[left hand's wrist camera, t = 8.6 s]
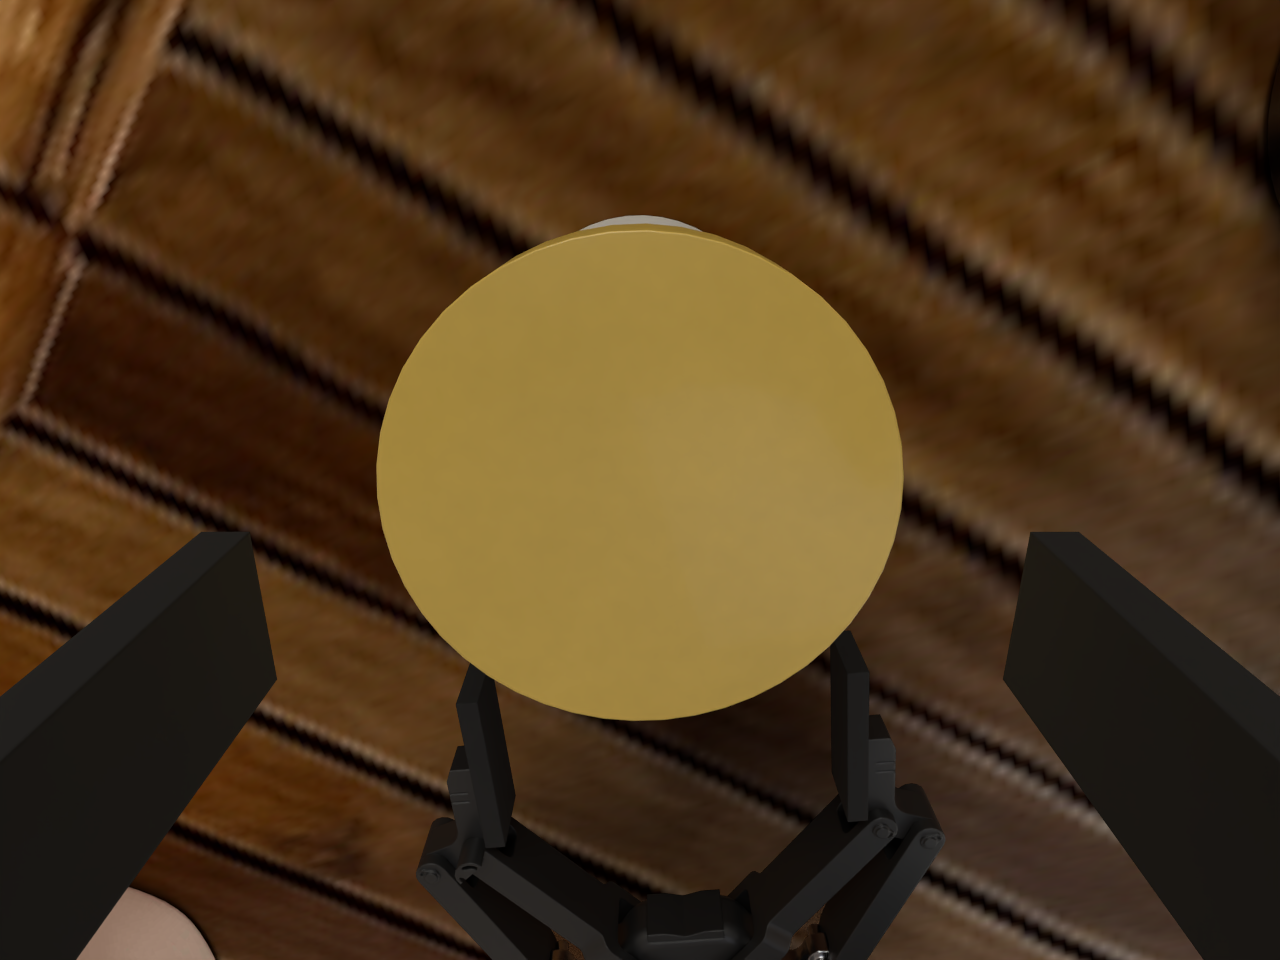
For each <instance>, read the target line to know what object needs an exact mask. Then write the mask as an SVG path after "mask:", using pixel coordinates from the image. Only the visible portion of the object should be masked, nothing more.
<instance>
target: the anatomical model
mask: <svg viewBox="0 0 1280 960" xmlns="http://www.w3.org/2000/svg"><path fill="white" fill-rule="evenodd" d="M76 960H215V958H214V956H213V954H212V952H211V950H210V948H209V946H208V944H207V943H206V941H205V940H204V938H203V936H202V935H201V933H200V932H199V930H198V929H197V928H196V927H195V925H194V924H193V923H192V922H191V921H190V920H189V919H188V918H187V917H186V916H185V915H184V914H183V913H182V912H180V911H179V910H178V909H176V908H175V907H173V906H172V905H170V904H169V903H167V902H165V901H163V900H161V899H159V898H157V897H155V896H152V895H150V894H147V893H145V892H142V891H140V890H137V889H133V888H130V887H128V888H127V890H126V891H125V892H124V894H123V895H122V897H121V898H120V899H119V901H118V902H117V904H116V905H115V906H114V908H113V909H112V911H111V912H110V913H109V915H108V916H107V918H106V919H105V920H104V922H103V923H102V925H101V926H100V927H99V929H98V930H97V932H96V933H95V934H94V936H93V937H92V939H91V940H90V941H89V943H88V944H87V946H86V947H85V948H84V950H83V951H82V952H81V954H80V955H79V957H78V958H77V959H76Z"/></svg>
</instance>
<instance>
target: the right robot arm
mask: <svg viewBox="0 0 1280 960" xmlns="http://www.w3.org/2000/svg"><path fill="white" fill-rule="evenodd" d="M830 664H831V750H832V774H833V777H834V780H835V784H836V787H837V790H838V793H839V794H838V795H837V796H836V797H835V798H834V799H833V800H832V801H831V802H830V803H829V804H828V805H827V806H826V807H825V808H824V810H823V811H822V812H821V813H820V814H819V815H818V816H817V817H816V818H815V819H814V820H813V821H812V822H811V823H810V824H809V825H808V826H807V827H806V828H805V829H804V830H803V831H802V832H801V833H800V834H799V835H798V836H797V837H796V838H795V839H794V840H793V841H792V842H791V843H790V844H789V845H788V846H787V847H786V848H785V849H784V850H783V851H782V852H781V853H780V854H779V855H778V856H777V857H776V858H775V859H774V860H773V861H772V862H771V863H770V864H769V865H768V866H767V867H766V868H765V869H764V870H763V871H762V872H761V873H758V872H756V871H752V872H751V873H750V874H749V875H748V876H747V877H746V878H745V879H744V880H743V881H742V882H741V883H740V884H739V885H738V886H737V887H736V888H735V889H734V890H733V891H732V892H731V893H730V894H729V895H728V896H723V895H720V891H719V889H718V890H704V891H699V892H695V893H691V894H688V895H683V896H682V895H674V894H666V893H661V894H647V900H646V901H643V902H640V901H639V900H638V899H636V898H635V897H634V896H632V895H631V894H629V893H628V892H627V891H625V890H624V889H623V888H621V887H620V886H619V885H617V884H616V883H614V882H612V881H609V882H607V883H606V884H603V883H601V882H600V881H598V880H597V879H596V878H594V877H593V876H592V875H590V874H589V873H587V872H586V871H585V870H583V869H582V868H581V867H579V866H578V865H577V864H575V863H574V862H572V861H571V860H570V859H568V858H567V857H566V856H564V855H563V854H562V853H560V852H559V851H557V850H556V849H555V848H553V847H552V846H551V845H549V844H548V843H547V842H545V841H544V840H542V839H541V838H540V837H538V836H537V835H536V834H534V833H533V832H532V831H530V830H529V829H527V828H526V827H525V826H523V825H522V824H521V823H519V822H518V821H516V820H515V819H514V818H512V817H511V816H512V811H513V806H514V801H515V796H516V795H515V790H514V784H513V779H512V774H511V768H510V763H509V757H508V752H507V747H506V741H505V736H504V730H503V725H502V719H501V714H500V709H499V703H498V698H497V692H496V687H495V681H494V679H492V678H491V677H489V676H487V675H486V674H485V673H483V672H482V671H481V670H479V669H478V668H477V667H475V666H474V665H473V664H471V663H470V665H469V668H468V671H467V674H466V677H465V679H464V682H463V685H462V688H461V691H460V694H459V697H458V700H457V703H456V708H457V713H458V717H459V722H460V727H461V732H462V737H463V742H464V746H458V747H457V750H456V753H455V757H454V760H453V763H452V766H451V769H450V772H449V776H448V780H447V785H448V789H449V794H450V799H451V802H452V808H453V812H454V817H455V820H453V819H451V818H447V817H442V818H438V819H436V820H435V821H434V822H433V823H432V825H431V828H430V831H429V834H428V837H427V840H426V843H425V847H424V850H423V853H422V856H421V859H420V862H419V866H418V869H417V872H416V877H417V879H418V881H419V882H420V883H421V884H422V885H423V886H424V888H425V889H426V890H427V891H428V892H429V893H430V894H431V895H432V896H433V897H434V898H435V899H436V900H437V901H438V902H439V903H440V904H441V906H442V907H443V908H444V909H445V910H446V911H447V912H448V913H449V914H450V915H451V916H452V917H453V918H454V919H455V920H456V921H457V922H458V924H459V925H460V926H461V927H462V928H463V929H464V930H465V931H466V932H467V933H468V934H469V935H470V936H471V937H472V938H473V939H474V941H475V942H476V943H477V944H478V945H479V946H480V947H481V948H482V949H483V950H484V951H485V952H486V953H487V954H488V955H489V956H490V957H491V959H492V960H577V959H576V958H575V957H574V956H573V954H572V953H571V952H569V943H568V942H567V941H565V940H560V941H557V940H556V938H555V936H554V934H553V932H552V930H554V931H555V932H556V933H558V934H559V935H561V936H562V937H564V938H565V939H566V940H568V941H569V942H571V943H572V944H574V945H575V946H577V947H578V948H579V949H580V950H581V951H582V953H583V955H584V958H585V960H867V959H868V957H869V956H870V954H871V953H872V951H873V950H874V948H875V947H876V945H877V944H878V942H879V941H880V939H881V938H882V936H883V935H884V933H885V932H886V930H887V929H888V927H889V926H890V924H891V923H892V921H893V920H894V918H895V917H896V915H897V914H898V912H899V911H900V909H901V908H902V906H903V905H904V903H905V902H906V900H907V899H908V898H909V896H910V895H911V893H912V892H913V890H914V889H915V887H916V886H917V884H918V883H919V881H920V880H921V878H922V877H923V875H924V874H925V872H926V871H927V869H928V868H929V866H930V865H931V863H932V862H933V860H934V859H935V857H936V856H937V854H938V853H939V851H940V850H941V848H942V847H943V845H944V843H945V835H944V833H943V831H942V829H941V827H940V824H939V822H938V820H937V818H936V816H935V813H934V811H933V809H932V807H931V805H930V803H929V800H928V798H927V796H926V794H925V792H924V790H923V789H922V787H921V786H919V785H917V784H905V785H903V786H901V787H900V788H896V787H895V759H896V749H895V747H894V744H893V742H892V740H891V737H890V735H889V733H888V731H887V728H886V726H885V724H884V722H883V720H882V718H881V716H880V715H869V670H868V668H867V666H866V664H865V662H864V659H863V657H862V655H861V653H860V651H859V649H858V646H857V644H856V642H855V640H854V638H853V635H852V633H851V631H843V632H842V633H841V634H840V635H839V636H838V637H837V638H836V640H835V641H834V642H833V643H832V644H831V645H830ZM825 904H826V905H825ZM823 905H825V907H824V909H823V912H822V914H821V917H820V922H819V925H818V924H815V923H814V924H811V925H809V926H808V928H807V931H808V935H809V936H807V937H806V938H805V940H804V942H803V944H802V945H801V946H800V947H799V948H797V949H794V950H789V948H790V943H791V938H792V936H793V935H794V933H795V932H796V931H798V930H799V929H800V928H801V927H802V926H803V925H804V924H805V923H806V922H807V921H808V920H809V919H810V918H811V917H812V916H813V915H814V914H815V913H816V912H817V911H818V910H819V909H820V908H821V907H822V906H823ZM618 924H619V925H618ZM550 928H551V929H552V930H551V929H550ZM788 950H789V951H788Z"/></svg>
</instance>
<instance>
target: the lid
mask: <svg viewBox="0 0 1280 960" xmlns="http://www.w3.org/2000/svg"><path fill="white" fill-rule="evenodd" d="M903 480H904V475H903V458H902V444H901V439H900V434H899V429H898V425H897V420H896V415H895V411H894V408H893V406H892V403H891V400H890V397H889V395H888V392H887V389H886V386H885V384H884V381H883V379H882V377H881V375H880V373H879V371H878V370H877V368H876V366H875V364H874V362H873V360H872V358H871V356H870V355H869V353H868V351H867V349H866V348H865V347H864V345H863V344H862V343H861V341H860V340H859V339H858V337H857V336H856V334H855V333H854V332H853V330H852V329H851V328H850V326H849V325H848V324H847V322H846V321H845V320H844V319H843V318H842V317H841V316H840V315H839V314H838V313H837V312H836V311H835V310H834V309H833V308H832V307H831V306H830V305H829V304H828V303H827V302H826V301H825V300H824V299H823V298H822V297H821V296H820V295H819V294H817V293H816V292H815V291H813V290H812V289H811V288H809V287H808V286H807V285H805V284H804V283H803V282H801V281H800V280H799V279H797V278H796V277H795V276H794V275H792V274H791V273H789V272H788V271H786V270H785V269H783V268H782V267H780V266H779V265H777V264H776V263H774V262H772V261H771V260H769V259H767V258H765V257H763V256H762V255H760V254H758V253H756V252H754V251H753V250H751V249H749V248H747V247H745V246H743V245H740V244H737V243H735V242H732V241H730V240H727V239H725V238H722V237H719V236H717V235H714V234H710V233H706V232H701V231H697V230H693V229H689V228H685V227H679V226H669V225H658V224H648V223H645V224H621V225H609V226H603V227H598V228H592V229H587V230H581V231H577V232H574V233H571V234H568V235H565V236H561V237H558V238H555V239H552V240H549V241H546V242H544V243H542V244H540V245H538V246H536V247H534V248H532V249H530V250H528V251H526V252H524V253H522V254H520V255H517V256H515V257H514V258H512V259H511V260H510V261H508V262H507V263H505V264H504V265H502V266H501V267H499V268H498V269H496V270H495V271H493V272H492V273H490V274H489V275H487V276H486V277H484V278H483V279H481V280H480V281H478V282H477V283H475V284H474V285H473V286H471V287H470V288H469V289H468V290H466V291H465V292H464V293H463V294H462V295H461V296H460V297H459V298H458V299H456V300H455V301H454V302H453V303H452V304H451V305H450V306H449V307H448V308H447V309H445V310H444V311H443V312H442V314H441V315H440V316H439V317H438V318H437V320H436V321H435V322H434V323H433V324H432V326H431V327H430V328H429V329H428V330H427V332H426V333H425V334H424V335H423V336H422V338H421V339H420V341H419V342H418V344H417V345H416V347H415V349H414V350H413V352H412V354H411V355H410V357H409V358H408V360H407V362H406V363H405V365H404V367H403V368H402V371H401V373H400V375H399V378H398V380H397V382H396V385H395V387H394V389H393V392H392V394H391V396H390V399H389V402H388V405H387V409H386V413H385V417H384V420H383V424H382V428H381V431H380V439H379V448H378V456H377V498H378V504H379V510H380V516H381V522H382V528H383V531H384V534H385V538H386V541H387V544H388V547H389V550H390V554H391V557H392V560H393V562H394V564H395V566H396V568H397V570H398V573H399V575H400V577H401V579H402V581H403V583H404V585H405V587H406V589H407V591H408V592H409V594H410V595H411V597H412V598H413V600H414V602H415V603H416V605H417V606H418V608H419V610H420V611H421V613H422V614H423V615H424V616H425V618H426V619H427V620H428V621H429V622H430V624H431V625H432V626H433V627H434V628H435V630H436V631H437V632H438V633H439V635H440V636H441V637H442V638H443V639H444V640H445V641H446V642H447V643H448V644H450V645H451V646H452V647H453V648H454V649H455V650H456V651H457V652H458V653H459V654H460V655H461V656H462V657H463V658H464V659H466V660H467V661H469V662H470V663H471V664H473V665H474V666H475V667H477V668H478V669H479V670H481V671H482V672H483V673H485V674H486V675H487V676H489V677H491V678H492V679H494V680H496V681H498V682H499V683H501V684H503V685H505V686H506V687H508V688H510V689H511V690H513V691H515V692H517V693H519V694H522V695H524V696H526V697H529V698H531V699H533V700H536V701H538V702H540V703H543V704H546V705H549V706H552V707H555V708H559V709H562V710H565V711H569V712H572V713H577V714H582V715H587V716H593V717H598V718H603V719H616V720H630V721H644V720H667V719H674V718H681V717H688V716H695V715H699V714H703V713H707V712H711V711H714V710H718V709H722V708H726V707H728V706H731V705H734V704H736V703H739V702H742V701H744V700H747V699H749V698H752V697H754V696H756V695H758V694H760V693H762V692H764V691H766V690H768V689H770V688H772V687H774V686H776V685H778V684H780V683H781V682H783V681H784V680H786V679H787V678H789V677H790V676H792V675H793V674H795V673H796V672H798V671H799V670H801V669H802V668H804V667H805V666H807V665H808V664H809V663H810V662H811V661H813V660H814V659H815V658H816V657H817V656H818V655H820V654H821V653H822V652H823V651H824V650H825V649H827V648H828V647H829V646H830V645H831V644H832V643H833V642H834V641H835V640H836V638H837V637H838V636H839V635H840V634H841V633H842V632H843V631H844V630H845V629H846V627H847V626H848V625H849V624H850V623H851V622H852V620H853V619H854V618H855V616H856V615H857V613H858V612H859V610H860V609H861V608H862V606H863V605H864V603H865V602H866V601H867V599H868V598H869V596H870V594H871V592H872V590H873V588H874V586H875V585H876V583H877V581H878V579H879V577H880V575H881V573H882V571H883V569H884V566H885V564H886V561H887V558H888V556H889V553H890V550H891V548H892V545H893V542H894V539H895V534H896V530H897V525H898V521H899V516H900V512H901V504H902V492H903Z"/></svg>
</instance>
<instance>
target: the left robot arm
mask: <svg viewBox="0 0 1280 960" xmlns="http://www.w3.org/2000/svg"><path fill="white" fill-rule="evenodd" d="M1267 139H1268V158H1269V165H1270V172H1271V178H1272V182H1273V186H1274V190H1275V193H1276V197H1277V200H1278V203H1279V205H1280V61H1279V64H1278V68H1277V71H1276V76H1275V80H1274V85H1273V89H1272V94H1271V101H1270V108H1269V116H1268V137H1267ZM276 680H277V677H276V671H275V666H274V661H273V655H272V650H271V645H270V639H269V634H268V629H267V623H266V618H265V612H264V607H263V602H262V596H261V591H260V586H259V580H258V575H257V570H256V564H255V559H254V553H253V548H252V543H251V537H250V532H201V533H199V534H198V535H197V536H196V537H195V538H193V539H192V540H191V541H190V542H188V543H187V544H186V545H185V546H184V547H182V548H181V549H180V550H179V551H177V552H176V553H175V554H174V555H173V556H171V557H170V558H169V559H168V560H166V561H165V562H164V563H163V564H162V565H160V566H159V567H158V568H157V569H155V570H154V571H153V572H152V573H151V574H149V575H148V576H147V577H146V578H145V579H143V580H142V581H141V582H140V583H138V584H137V585H136V586H135V587H134V588H132V589H131V590H130V591H129V592H127V593H126V594H125V595H124V596H123V597H121V598H120V599H119V600H118V601H116V602H115V603H114V604H113V605H112V606H110V607H109V608H108V609H107V610H106V611H104V612H103V613H102V614H101V615H99V616H98V617H97V618H96V619H95V620H93V621H92V622H91V623H90V624H88V625H87V626H86V627H85V628H84V629H82V630H81V631H80V632H79V633H77V634H76V635H75V636H74V637H73V638H71V639H70V640H69V641H68V642H66V643H65V644H64V645H63V646H62V647H60V648H59V649H58V650H57V651H56V652H54V653H53V654H52V655H51V656H49V657H48V658H47V659H46V660H45V661H43V662H42V663H41V664H40V665H38V666H37V667H36V668H35V669H34V670H32V671H31V672H30V673H29V674H27V675H26V676H25V677H24V678H23V679H21V680H20V681H19V682H18V683H17V684H15V685H14V686H13V687H12V688H10V689H9V690H8V691H7V692H6V693H4V694H3V695H2V696H1V697H0V960H76V959H77V958H78V957H79V955H80V954H81V952H82V951H83V950H84V948H85V947H86V946H87V944H88V943H89V941H90V940H91V939H92V937H93V936H94V934H95V933H96V932H97V930H98V929H99V927H100V926H101V925H102V923H103V922H104V920H105V919H106V918H107V916H108V915H109V913H110V912H111V911H112V909H113V908H114V906H115V905H116V904H117V902H118V901H119V899H120V898H121V897H122V895H123V894H124V892H125V891H126V890H127V888H128V887H129V885H130V884H131V883H132V881H133V880H134V878H135V877H136V876H137V874H138V873H139V871H140V870H141V869H142V867H143V866H144V864H145V863H146V862H147V860H148V859H149V857H150V856H151V855H152V853H153V852H154V850H155V849H156V848H157V846H158V845H159V844H160V842H161V841H162V839H163V838H164V837H165V835H166V834H167V832H168V831H169V830H170V828H171V827H172V825H173V824H174V823H175V821H176V820H177V818H178V817H179V816H180V814H181V813H182V811H183V810H184V809H185V807H186V806H187V804H188V803H189V802H190V800H191V799H192V797H193V796H194V795H195V793H196V792H197V790H198V789H199V788H200V786H201V785H202V783H203V782H204V781H205V779H206V778H207V776H208V775H209V774H210V772H211V771H212V769H213V768H214V767H215V765H216V764H217V762H218V761H219V760H220V758H221V757H222V755H223V754H224V753H225V751H226V750H227V748H228V747H229V746H230V744H231V743H232V742H233V740H234V739H235V737H236V736H237V735H238V733H239V732H240V730H241V729H242V728H243V726H244V725H245V723H246V722H247V721H248V719H249V718H250V716H251V715H252V714H253V712H254V711H255V709H256V708H257V707H258V705H259V704H260V702H261V701H262V700H263V698H264V697H265V695H266V694H267V693H268V691H269V690H270V688H271V687H272V686H273V684H274V683H275V681H276ZM1003 680H1004V681H1005V683H1006V684H1007V686H1008V687H1009V688H1010V690H1011V691H1012V693H1013V694H1014V695H1015V697H1016V698H1017V700H1018V701H1019V702H1020V704H1021V705H1022V707H1023V708H1024V709H1025V711H1026V712H1027V714H1028V715H1029V716H1030V718H1031V719H1032V721H1033V722H1034V723H1035V725H1036V726H1037V728H1038V729H1039V730H1040V732H1041V733H1042V735H1043V736H1044V737H1045V739H1046V740H1047V742H1048V743H1049V744H1050V746H1051V747H1052V748H1053V750H1054V751H1055V753H1056V754H1057V755H1058V757H1059V758H1060V760H1061V761H1062V762H1063V764H1064V765H1065V767H1066V768H1067V769H1068V771H1069V772H1070V774H1071V775H1072V776H1073V778H1074V779H1075V781H1076V782H1077V783H1078V785H1079V786H1080V788H1081V789H1082V790H1083V792H1084V793H1085V795H1086V796H1087V797H1088V799H1089V800H1090V802H1091V803H1092V804H1093V806H1094V807H1095V809H1096V810H1097V811H1098V813H1099V814H1100V816H1101V817H1102V818H1103V820H1104V821H1105V823H1106V824H1107V825H1108V827H1109V828H1110V830H1111V831H1112V832H1113V834H1114V835H1115V837H1116V838H1117V839H1118V841H1119V842H1120V844H1121V845H1122V846H1123V848H1124V849H1125V850H1126V852H1127V853H1128V855H1129V856H1130V857H1131V859H1132V860H1133V862H1134V863H1135V864H1136V866H1137V867H1138V869H1139V870H1140V871H1141V873H1142V874H1143V876H1144V877H1145V878H1146V880H1147V881H1148V883H1149V884H1150V885H1151V887H1152V888H1153V890H1154V891H1155V892H1156V894H1157V895H1158V897H1159V898H1160V899H1161V901H1162V902H1163V904H1164V905H1165V906H1166V908H1167V909H1168V911H1169V912H1170V913H1171V915H1172V916H1173V918H1174V919H1175V920H1176V922H1177V923H1178V925H1179V926H1180V927H1181V929H1182V930H1183V932H1184V933H1185V934H1186V936H1187V937H1188V939H1189V940H1190V941H1191V943H1192V944H1193V946H1194V947H1195V948H1196V950H1197V951H1198V952H1199V954H1200V955H1201V957H1202V958H1203V959H1204V960H1280V697H1279V696H1278V695H1277V694H1276V693H1274V692H1273V691H1272V690H1271V689H1270V688H1268V687H1267V686H1266V685H1265V684H1263V683H1262V682H1261V681H1260V680H1259V679H1257V678H1256V677H1255V676H1254V675H1253V674H1251V673H1250V672H1249V671H1248V670H1246V669H1245V668H1244V667H1243V666H1242V665H1240V664H1239V663H1238V662H1237V661H1235V660H1234V659H1233V658H1232V657H1231V656H1229V655H1228V654H1227V653H1226V652H1224V651H1223V650H1222V649H1221V648H1220V647H1218V646H1217V645H1216V644H1215V643H1214V642H1212V641H1211V640H1210V639H1209V638H1207V637H1206V636H1205V635H1204V634H1203V633H1201V632H1200V631H1199V630H1198V629H1196V628H1195V627H1194V626H1193V625H1192V624H1190V623H1189V622H1188V621H1187V620H1185V619H1184V618H1183V617H1182V616H1181V615H1179V614H1178V613H1177V612H1176V611H1174V610H1173V609H1172V608H1171V607H1170V606H1168V605H1167V604H1166V603H1165V602H1164V601H1162V600H1161V599H1160V598H1159V597H1157V596H1156V595H1155V594H1154V593H1153V592H1151V591H1150V590H1149V589H1148V588H1146V587H1145V586H1144V585H1143V584H1142V583H1140V582H1139V581H1138V580H1137V579H1135V578H1134V577H1133V576H1132V575H1131V574H1129V573H1128V572H1127V571H1126V570H1124V569H1123V568H1122V567H1121V566H1120V565H1118V564H1117V563H1116V562H1115V561H1114V560H1112V559H1111V558H1110V557H1109V556H1107V555H1106V554H1105V553H1104V552H1103V551H1101V550H1100V549H1099V548H1098V547H1096V546H1095V545H1094V544H1093V543H1092V542H1090V541H1089V540H1088V539H1087V538H1085V537H1084V536H1083V535H1082V534H1081V533H1079V532H1030V537H1029V543H1028V548H1027V553H1026V559H1025V564H1024V570H1023V575H1022V580H1021V586H1020V591H1019V596H1018V602H1017V607H1016V612H1015V618H1014V623H1013V629H1012V634H1011V639H1010V645H1009V650H1008V655H1007V661H1006V666H1005V671H1004V677H1003Z"/></svg>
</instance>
